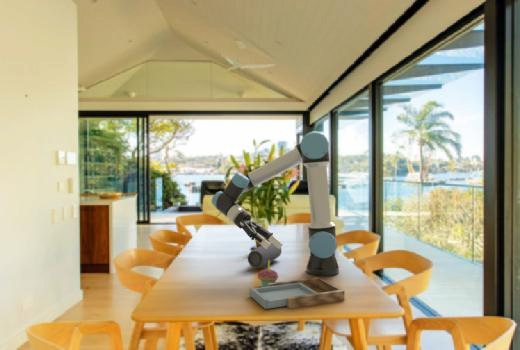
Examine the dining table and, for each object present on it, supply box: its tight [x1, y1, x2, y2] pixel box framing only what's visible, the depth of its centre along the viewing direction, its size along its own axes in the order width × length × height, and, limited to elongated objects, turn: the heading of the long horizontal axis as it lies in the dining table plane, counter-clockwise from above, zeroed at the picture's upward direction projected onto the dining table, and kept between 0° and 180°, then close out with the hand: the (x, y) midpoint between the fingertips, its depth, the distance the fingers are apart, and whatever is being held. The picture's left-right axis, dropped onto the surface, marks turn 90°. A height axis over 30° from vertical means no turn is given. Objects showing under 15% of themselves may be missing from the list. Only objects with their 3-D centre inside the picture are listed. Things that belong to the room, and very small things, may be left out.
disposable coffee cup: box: [255, 233, 271, 248], centre depth 219 cm, size 10×10×12 cm
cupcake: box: [257, 261, 279, 287], centre depth 160 cm, size 9×8×12 cm
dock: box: [267, 276, 345, 309], centre depth 148 cm, size 24×19×4 cm
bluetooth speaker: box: [247, 242, 282, 269], centre depth 195 cm, size 23×9×10 cm, turn 154°
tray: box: [249, 283, 318, 310], centre depth 145 cm, size 22×15×3 cm
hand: (274, 246), depth 162 cm, fingers open, 13 cm apart
